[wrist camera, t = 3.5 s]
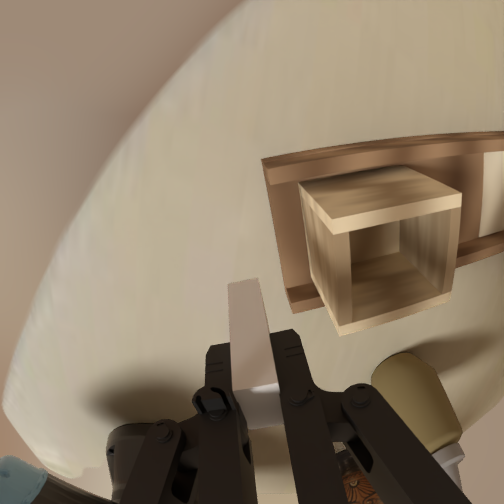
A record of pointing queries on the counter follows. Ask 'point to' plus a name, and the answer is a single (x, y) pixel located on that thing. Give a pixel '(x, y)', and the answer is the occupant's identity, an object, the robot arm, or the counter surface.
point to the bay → (386, 155)
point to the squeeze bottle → (422, 407)
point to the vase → (355, 481)
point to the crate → (380, 244)
